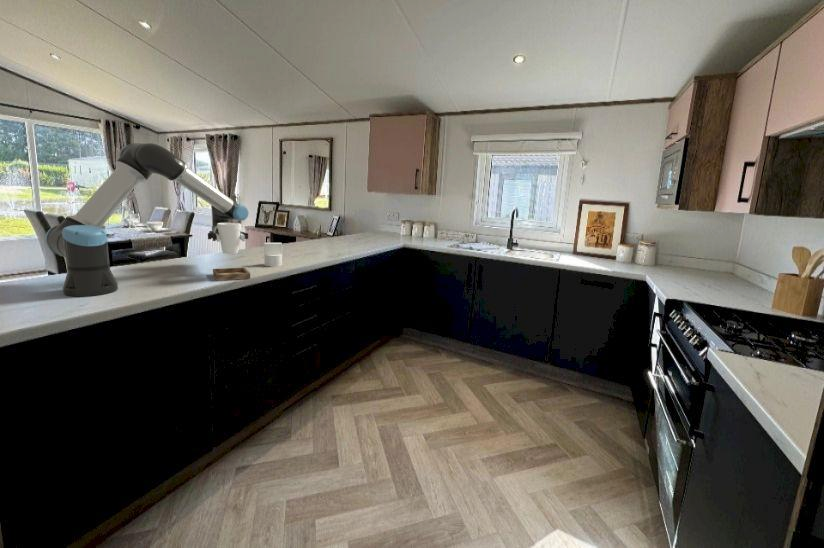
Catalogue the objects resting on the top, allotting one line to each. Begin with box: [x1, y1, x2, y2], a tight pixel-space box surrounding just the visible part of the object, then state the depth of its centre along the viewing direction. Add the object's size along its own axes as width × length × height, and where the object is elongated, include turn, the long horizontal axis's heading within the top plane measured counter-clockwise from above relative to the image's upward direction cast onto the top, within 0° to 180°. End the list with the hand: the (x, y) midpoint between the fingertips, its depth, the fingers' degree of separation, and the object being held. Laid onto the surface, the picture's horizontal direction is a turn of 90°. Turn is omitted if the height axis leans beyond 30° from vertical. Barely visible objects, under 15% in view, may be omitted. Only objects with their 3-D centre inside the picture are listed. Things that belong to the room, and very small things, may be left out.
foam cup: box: [217, 222, 242, 255], centre depth 166 cm, size 10×9×13 cm
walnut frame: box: [212, 266, 251, 282], centre depth 170 cm, size 14×14×3 cm
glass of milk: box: [263, 242, 283, 268], centre depth 200 cm, size 9×9×12 cm
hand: (231, 238), depth 163 cm, fingers closed on foam cup, 9 cm apart
